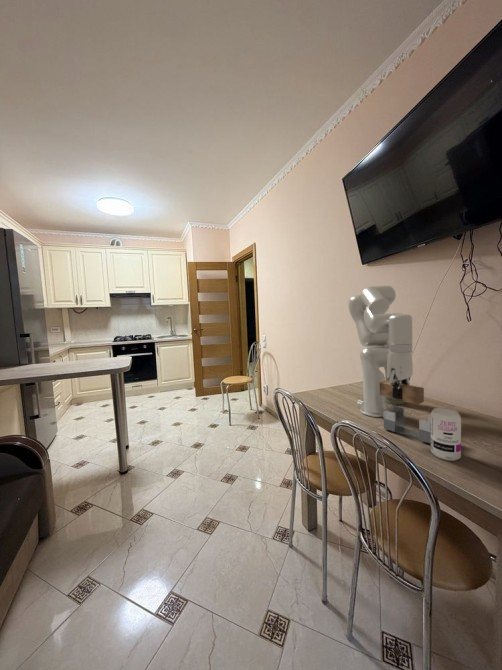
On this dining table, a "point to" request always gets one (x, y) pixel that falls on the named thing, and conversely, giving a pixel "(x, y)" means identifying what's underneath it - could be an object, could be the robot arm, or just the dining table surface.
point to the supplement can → (446, 434)
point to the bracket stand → (396, 423)
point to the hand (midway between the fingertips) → (400, 396)
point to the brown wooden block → (403, 392)
